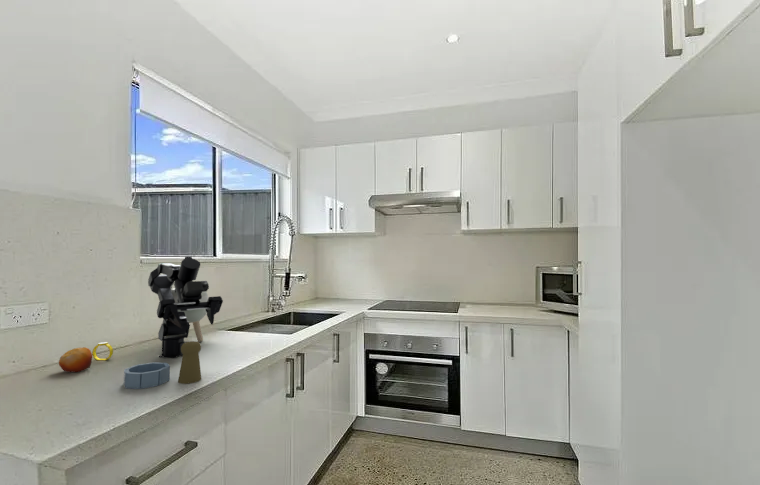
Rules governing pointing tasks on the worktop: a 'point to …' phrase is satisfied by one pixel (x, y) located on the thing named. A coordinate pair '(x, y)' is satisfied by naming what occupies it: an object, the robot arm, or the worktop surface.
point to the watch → (102, 345)
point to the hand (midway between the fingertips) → (197, 325)
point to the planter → (194, 314)
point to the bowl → (146, 375)
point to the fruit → (76, 360)
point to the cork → (190, 363)
